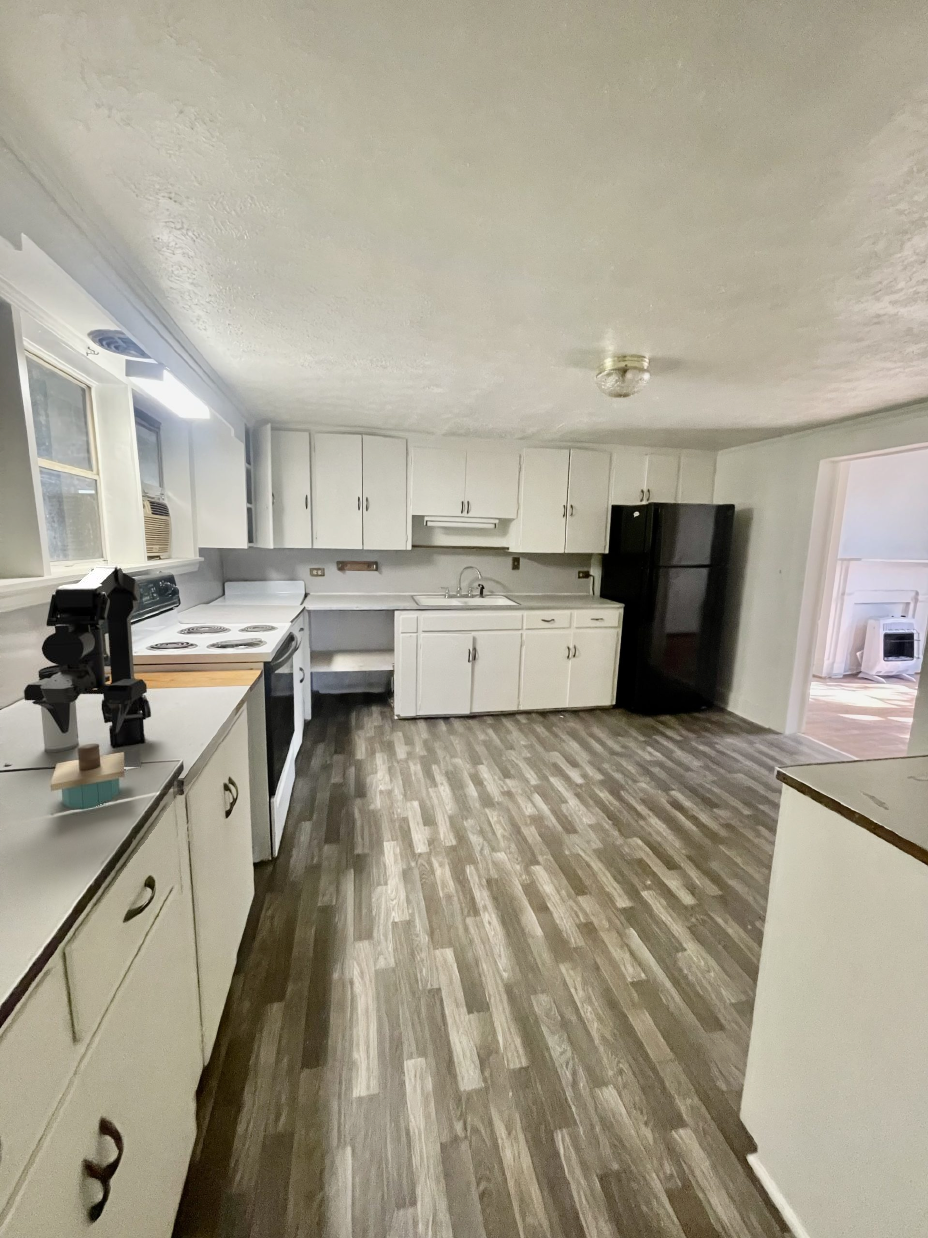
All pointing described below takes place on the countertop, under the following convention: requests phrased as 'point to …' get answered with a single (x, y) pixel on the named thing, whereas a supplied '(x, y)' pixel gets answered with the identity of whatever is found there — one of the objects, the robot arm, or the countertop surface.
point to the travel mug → (51, 731)
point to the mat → (131, 758)
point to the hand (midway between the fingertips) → (90, 732)
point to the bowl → (90, 794)
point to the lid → (88, 768)
